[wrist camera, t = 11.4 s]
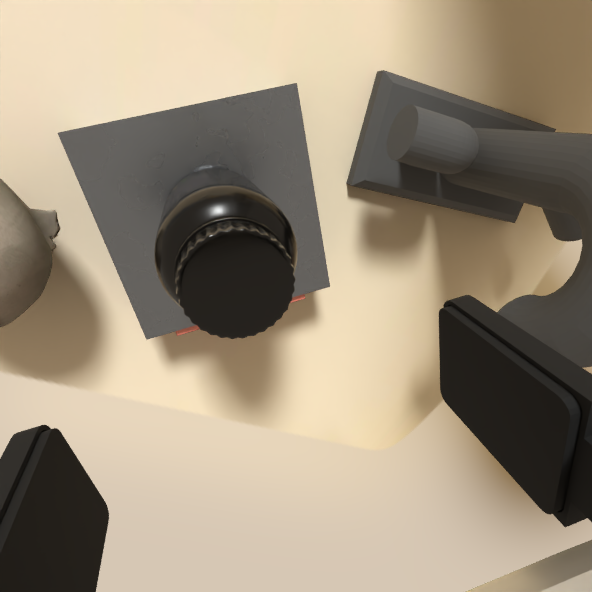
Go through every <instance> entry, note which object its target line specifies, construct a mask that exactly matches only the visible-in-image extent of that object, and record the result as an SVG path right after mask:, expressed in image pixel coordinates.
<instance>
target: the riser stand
mask: <svg viewBox="0 0 592 592" xmlns="http://www.w3.org/2000/svg"><path fill="white" fill-rule="evenodd" d="M58 135H59V137H60V140H61V142H62V144H63V147H64V149H65V151H66V154H67V156H68V158H69V160H70V163H71V165H72V167H73V170H74V172H75V174H76V177H77V179H78V181H79V184H80V186H81V188H82V191H83V193H84V195H85V198H86V200H87V202H88V205H89V207H90V209H91V212H92V214H93V216H94V219H95V221H96V223H97V225H98V228H99V230H100V232H101V235H102V237H103V239H104V242H105V244H106V246H107V249H108V251H109V253H110V256H111V258H112V260H113V263H114V265H115V267H116V270H117V272H118V274H119V277H120V279H121V281H122V284H123V286H124V288H125V291H126V293H127V295H128V297H129V300H130V302H131V304H132V307H133V309H134V311H135V314H136V316H137V318H138V321H139V323H140V325H141V328H142V330H143V332H144V335H145V337H146V339H150V338H154V337H157V336H161V335H164V334H168V333H171V332H175V331H176V334H177V336H178V335H181V334H185V333H188V332H192V331H195V330H198V329H200V328H199V327H198V325H195V324H193V323H192V322H191V320H190V318H189V317H187V316H186V315H185V314H184V311H183V309H182V308H181V307H180V306H179V305H177V304H176V303H175V302H174V301H173V300H172V299H171V298H170V296H169V295H168V294H167V292H166V291H165V289H164V288H163V286H162V284H161V282H160V280H159V277H158V275H157V271H156V267H155V260H154V249H155V240H156V235H157V231H158V227H159V223H160V219H161V215H162V211H163V208H164V204H165V202H166V199H167V197H168V195H169V193H170V192H171V190H172V189H173V188H174V186H175V185H176V184H177V183H178V182H179V181H180V180H182V179H183V178H184V177H186V176H187V175H189V174H191V173H193V172H195V171H198V170H202V169H207V168H222V169H228V170H231V171H234V172H236V173H239V174H241V175H243V176H244V177H246V178H247V179H248V180H250V181H251V182H252V183H254V184H255V185H256V186H257V187H258V188H259V189H260V190H261V191H262V192H263V193H265V194H266V195H267V196H268V197H269V198H270V199H271V200H272V201H273V202H274V203H275V204H276V205H277V206H278V207H279V208H280V209H281V210H282V212H283V213H284V214H285V216H286V217H287V219H288V220H289V222H290V224H291V226H292V229H293V231H294V234H295V238H296V243H297V265H296V269H295V273H294V276H295V278H296V280H295V283H294V287H295V291H294V293H293V294H292V301H291V302H295V301H298V300H302V299H305V295H304V294H306V293H310V292H313V291H316V290H320V289H323V288H327V287H330V283H329V277H328V271H327V265H326V259H325V253H324V247H323V241H322V234H321V228H320V222H319V216H318V210H317V204H316V198H315V192H314V186H313V180H312V173H311V167H310V161H309V155H308V149H307V143H306V137H305V131H304V125H303V118H302V112H301V106H300V100H299V94H298V88H297V83H295V84H290V85H285V86H280V87H275V88H271V89H266V90H261V91H256V92H251V93H247V94H242V95H237V96H232V97H228V98H223V99H218V100H213V101H208V102H204V103H199V104H194V105H189V106H184V107H180V108H175V109H170V110H165V111H160V112H156V113H151V114H146V115H141V116H136V117H132V118H127V119H122V120H117V121H112V122H108V123H103V124H98V125H93V126H88V127H84V128H79V129H74V130H69V131H64V132H60V133H58ZM291 302H290V303H291Z"/></svg>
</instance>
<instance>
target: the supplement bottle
mask: <svg viewBox="0 0 592 592" xmlns="http://www.w3.org/2000/svg"><path fill="white" fill-rule="evenodd" d="M154 260H155V267H156V271H157V275H158V277H159V280H160V282H161V284H162V286H163V288H164V289H165V291H166V292H167V294H168V295H169V296H170V298H171V299H172V300H173V301H174V302H175V303H176V304H177V305H179V306H180V307H181V308H182V309H183V311H184V314H185V315H186V316H187V317H189V318H190V320H191V322H192V323H193V324H195V325H198V327H199V328H200V330H203V331H207V332H208V333H209V334H210V335H217V336H219V337H221V338H225V337H228V338H231V339H234V338H237V337H239V338H245V337H247V336H254V335H256V334H257V333H258V332H263V331H265V330H266V329H267V328H268V327H270V326H273V325H274V324H275V322H276V321H277V320H279V319H280V318H281V317H282V315H283V313H284V312H285V311H286V310H288V305H289V303H290V302H291V301H292V294H293V293H294V291H295V287H294V283H295V280H296V278H295V276H294V273H295V269H296V265H297V243H296V238H295V234H294V231H293V229H292V226H291V224H290V222H289V220H288V219H287V217H286V216H285V214H284V213H283V212H282V210H281V209H280V208H279V207H278V206H277V205H276V204H275V203H274V202H273V201H272V200H271V199H270V198H269V197H268V196H267V195H266V194H265V193H263V192H262V191H261V190H260V189H259V188H258V187H257V186H256V185H255V184H254V183H252V182H251V181H250V180H248V179H247V178H246V177H244V176H243V175H241V174H239V173H236V172H234V171H231V170H228V169H222V168H207V169H202V170H198V171H195V172H193V173H191V174H189V175H187V176H186V177H184V178H183V179H182V180H180V181H179V182H178V183H177V184H176V185H175V186H174V188H173V189H172V190H171V192H170V193H169V195H168V197H167V199H166V202H165V204H164V208H163V211H162V215H161V219H160V223H159V227H158V231H157V235H156V240H155V249H154Z"/></svg>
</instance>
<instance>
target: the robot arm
mask: <svg viewBox="0 0 592 592" xmlns="http://www.w3.org/2000/svg"><path fill="white" fill-rule="evenodd" d="M439 345H440V390H441V394H442V397H443V399H444V401H445V402H446V403H447V405H448V406H449V407H450V408H451V409H452V410H453V411H454V412H455V414H456V415H457V416H458V417H459V418H460V419H461V420H462V421H463V423H464V424H465V425H466V426H467V427H468V428H469V429H470V430H471V431H472V433H473V434H474V435H475V436H476V437H477V438H478V439H479V440H480V442H481V443H482V444H483V445H484V446H485V447H486V448H487V449H488V451H489V452H490V453H491V454H492V455H493V456H494V457H495V458H496V459H497V461H498V462H499V463H500V464H501V465H502V466H503V467H504V468H505V470H506V471H507V472H508V473H509V474H510V475H511V476H512V477H513V479H514V480H515V481H516V482H517V483H518V484H519V485H520V486H521V487H522V488H523V490H524V491H525V492H526V493H527V494H528V495H529V496H530V497H531V498H532V500H533V501H534V502H535V503H536V504H537V505H538V506H539V508H540V509H542V511H544V512H545V513H547V514H554V516H555V517H556V518H557V519H558V520H559V521H560V522H561V523H562V524H563V526H564V527H567V526H570V525H572V524H574V523H577V522H579V521H581V520H584V519H586V518H588V519H589V520H590V521H591V522H592V374H591V373H589V372H587V371H586V370H584V369H583V368H581V367H580V366H578V365H577V364H575V363H574V362H572V361H571V360H569V359H567V358H566V357H564V356H563V355H561V354H560V353H558V352H557V351H555V350H554V349H552V348H550V347H549V346H547V345H546V344H544V343H543V342H541V341H540V340H538V339H537V338H535V337H534V336H532V335H530V334H529V333H527V332H526V331H524V330H523V329H521V328H520V327H518V326H517V325H515V324H514V323H512V322H510V321H509V320H507V319H506V318H504V317H503V316H501V315H500V314H498V313H497V312H495V311H493V310H492V309H490V308H489V307H487V306H486V305H484V304H483V303H481V302H480V301H478V300H477V299H475V298H473V297H472V296H470V295H465V296H462V297H459V298H455V299H452V300H449V301H446V302H445V304H444V308H442V309H440V311H439ZM108 520H109V513H108V508H107V505H106V503H105V501H104V499H103V498H102V496H101V495H100V493H99V492H98V490H97V488H96V487H95V485H94V484H93V482H92V481H91V479H90V477H89V476H88V474H87V473H86V471H85V470H84V468H83V466H82V465H81V463H80V462H79V460H78V459H77V457H76V455H75V454H74V452H73V451H72V449H71V448H70V446H69V444H68V443H67V441H66V440H65V438H64V437H63V435H62V433H61V432H60V431H59V430H58V429H55V428H54V429H50V428H49V427H48V426H47V425H41V426H38V427H35V428H31V429H28V430H25V431H21V432H18V433H16V434H14V435H13V437H12V438H11V439H10V441H9V443H8V445H7V447H6V449H5V451H4V453H3V455H2V457H1V459H0V592H96V587H97V581H98V576H99V570H100V565H101V559H102V554H103V548H104V543H105V537H106V532H107V526H108ZM466 592H592V540H590V541H588V542H585V543H583V544H580V545H577V546H575V547H572V548H570V549H567V550H565V551H562V552H560V553H557V554H555V555H552V556H550V557H548V558H545V559H543V560H541V561H538V562H536V563H533V564H531V565H529V566H526V567H524V568H521V569H519V570H517V571H514V572H512V573H509V574H507V575H504V576H502V577H500V578H497V579H495V580H492V581H490V582H488V583H485V584H483V585H481V586H478V587H476V588H473V589H471V590H469V591H466Z"/></svg>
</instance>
